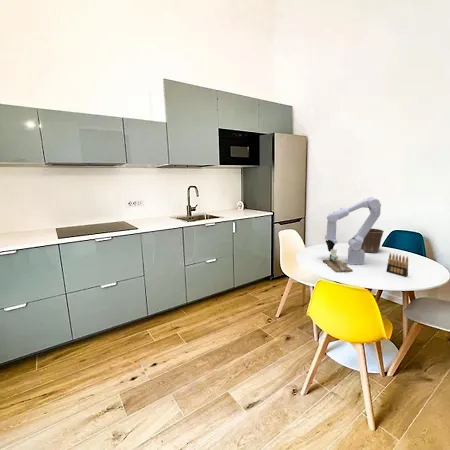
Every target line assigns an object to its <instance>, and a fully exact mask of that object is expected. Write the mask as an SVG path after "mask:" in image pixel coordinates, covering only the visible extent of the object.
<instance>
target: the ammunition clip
mask: <svg viewBox="0 0 450 450" xmlns="http://www.w3.org/2000/svg"><path fill="white" fill-rule="evenodd" d="M386 265H387V266H386V271H385V272H386V273H390V274H393V275H396V276H400V277H404V278H408V277H409V276H408V275H409V257H408V255H407V256H406V257H405V255H401V254H398V253H396V255H395V253H392V252H389V255H388V259H387V264H386Z"/></svg>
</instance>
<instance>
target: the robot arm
mask: <svg viewBox="0 0 450 450" xmlns="http://www.w3.org/2000/svg"><path fill="white" fill-rule="evenodd" d="M381 207H382V203H381V202H380V200H379V199H378V198H375V197H371V196H370V197H367V198H365V199H362V200H360V201H358V202H356V203H354V204H353V205H350V206H348V207H347V208H346V207H340V208H339V209H338V210H336V211H333V212H332V213H329V214H328V215H327V216H326V219H327V224H326V235H324V240H325V244H326V246H327V251H328V252H330V253H331V250H332V249H334V247H335V246H336V244H338V239H337V238H336V237H337V223H338V220H339V221H340V220H341V219H344V218H346V217H348V216H349V215H350V213H352V212H354V211H356V210H359V209H361V208H366V209H368V211H369V215H368V217H367V218H366V219H365V221H364V222H363V224H362V225H361V226H360V228H359V229H360V230H359V229H358V231H357V232H356V233H355V235H353V237H351V238H350V239H349V240H348V245H349V247H348V248H347V252H348V253H347V259H345V260H344V261H346V262H348V263H347V264H349V265H365V257H366V254H365V253H366V252H364V250H362V249H361V246H362V243H363V240H364V238H365V236H366V235H367V233H368V232H369V230H370V229H373V228H372V227H374V225H375V223H376V222H377V221H378V219H379V217H380V216H381Z"/></svg>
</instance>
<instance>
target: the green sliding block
mask: <svg viewBox="0 0 450 450" xmlns="http://www.w3.org/2000/svg"><path fill="white" fill-rule="evenodd" d="M330 254H331V259H332V260H333V261H337V260H336V259H335V257H336V258H337V259H338V260H339V256H338V255H337V249H336V248H335V249H334V248H333V249H332V250H331V251H330Z"/></svg>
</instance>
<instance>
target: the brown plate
mask: <svg viewBox="0 0 450 450" xmlns="http://www.w3.org/2000/svg"><path fill="white" fill-rule="evenodd" d="M335 259H336V260H337V261H333V260H332V259H331V253H330V254H329V259H323V260H322V262H323V263H324V264H325V265H326V264H327V265H326V266H327V267H329V268H330V269H331V268H332V269H331V270H332V271H334V272H335V273H353V272H354V271H353V269H351V268H350V267H349V266H348V264H349V263H348V262H346V261H345V260H340V259H339V258H338V259H337V258H336V257H335Z"/></svg>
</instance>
